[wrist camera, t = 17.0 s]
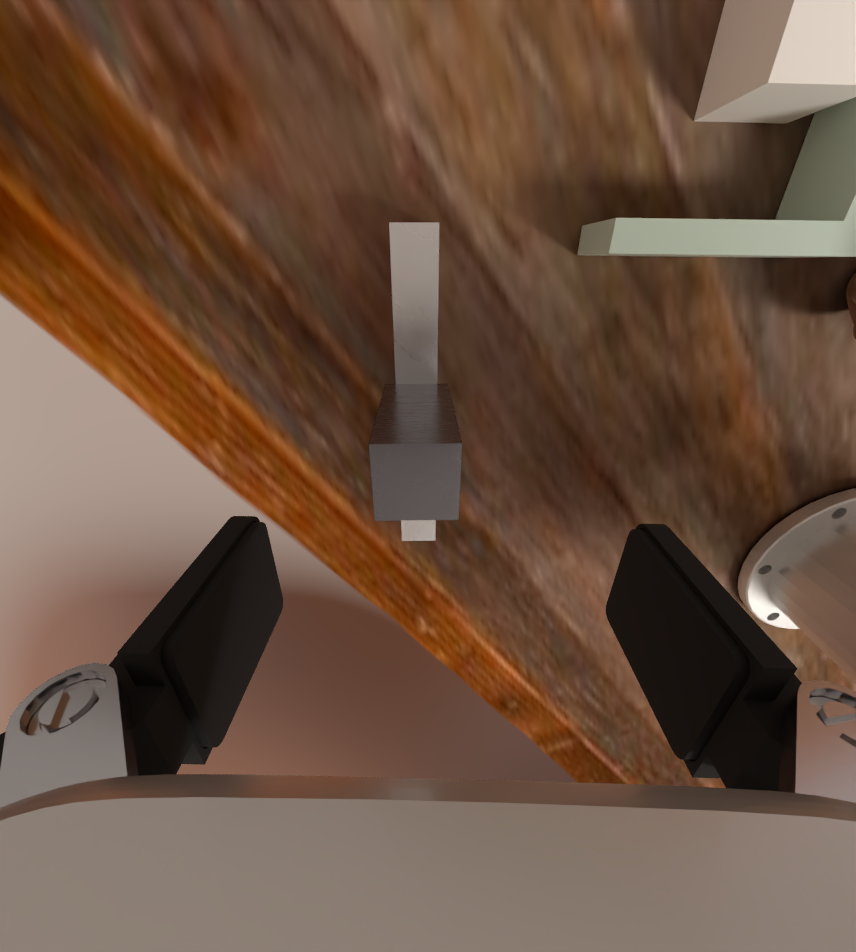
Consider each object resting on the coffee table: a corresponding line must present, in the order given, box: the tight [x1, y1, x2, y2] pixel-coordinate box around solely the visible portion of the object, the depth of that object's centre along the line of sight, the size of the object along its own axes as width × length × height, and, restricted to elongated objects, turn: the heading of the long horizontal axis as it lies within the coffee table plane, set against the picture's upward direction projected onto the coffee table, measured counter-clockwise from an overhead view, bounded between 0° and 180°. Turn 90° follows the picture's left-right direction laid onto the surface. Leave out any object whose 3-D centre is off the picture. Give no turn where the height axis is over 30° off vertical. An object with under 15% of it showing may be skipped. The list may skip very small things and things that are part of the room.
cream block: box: [694, 0, 856, 123], centre depth 14 cm, size 4×4×4 cm
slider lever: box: [369, 222, 462, 541], centre depth 17 cm, size 3×16×10 cm, turn 0°
